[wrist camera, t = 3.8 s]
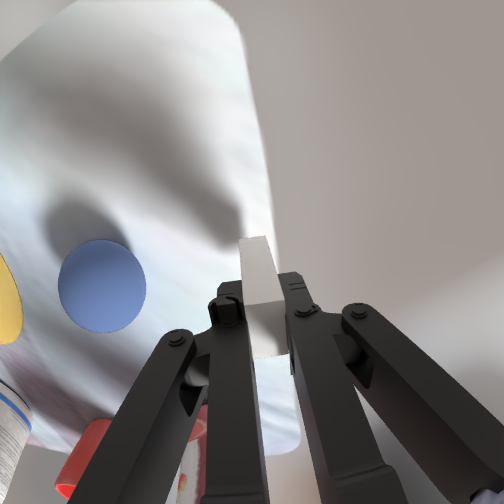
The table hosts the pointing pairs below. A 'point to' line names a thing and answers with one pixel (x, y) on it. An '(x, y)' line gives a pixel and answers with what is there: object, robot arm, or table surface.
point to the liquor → (194, 463)
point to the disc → (9, 306)
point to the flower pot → (81, 457)
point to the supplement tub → (11, 434)
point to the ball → (102, 286)
